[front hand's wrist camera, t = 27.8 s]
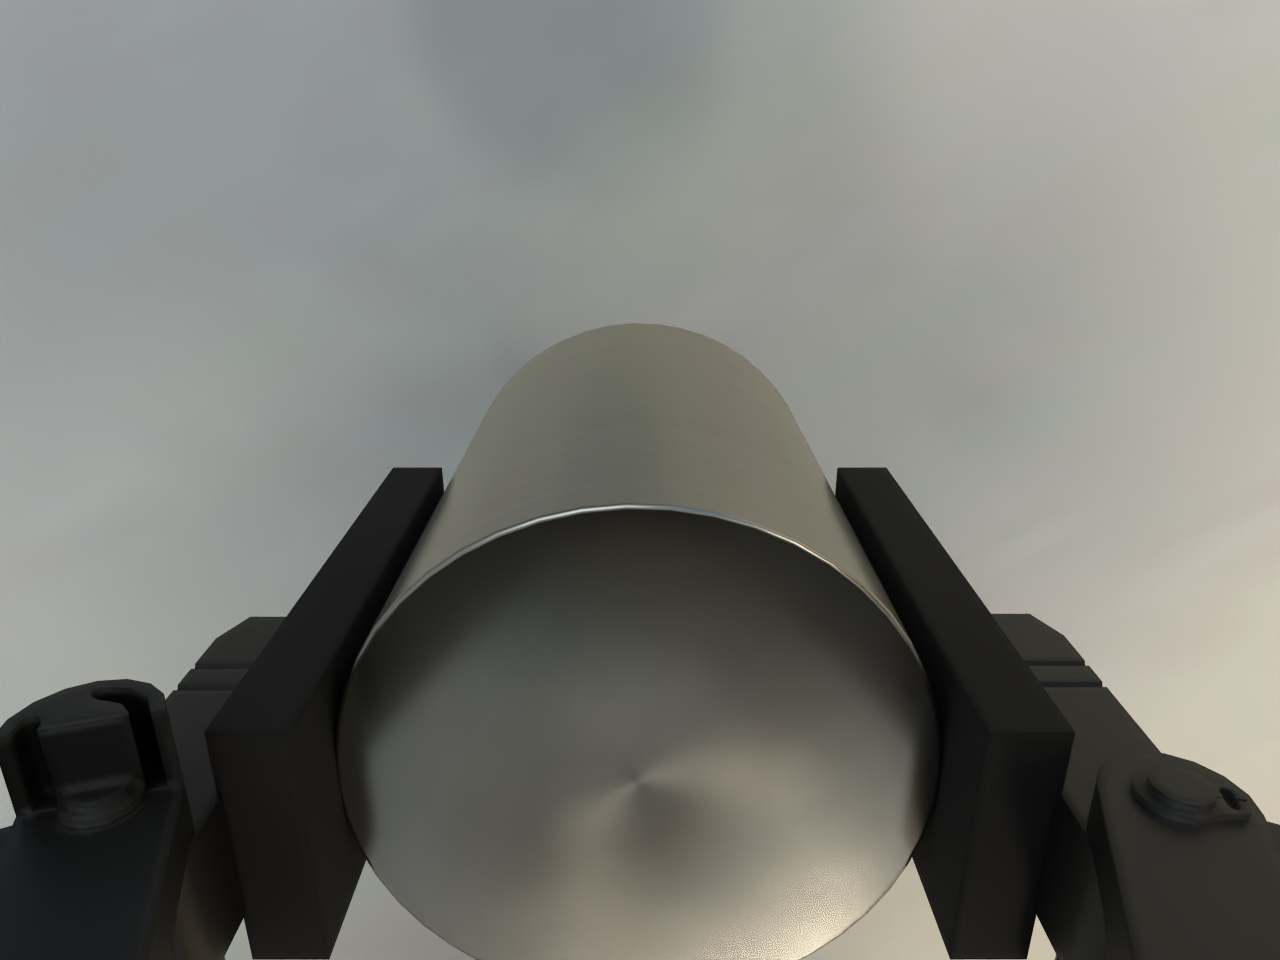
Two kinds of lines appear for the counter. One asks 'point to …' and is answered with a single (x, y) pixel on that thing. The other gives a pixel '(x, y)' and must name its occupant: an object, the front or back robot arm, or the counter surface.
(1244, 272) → the counter surface
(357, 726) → the can
